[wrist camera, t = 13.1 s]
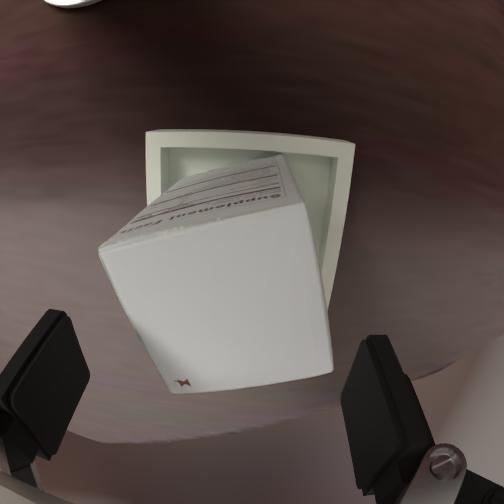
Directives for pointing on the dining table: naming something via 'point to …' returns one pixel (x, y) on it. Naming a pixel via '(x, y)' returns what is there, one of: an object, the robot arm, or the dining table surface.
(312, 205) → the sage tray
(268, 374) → the supplement box
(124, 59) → the dining table surface
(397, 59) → the dining table surface
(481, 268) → the dining table surface
